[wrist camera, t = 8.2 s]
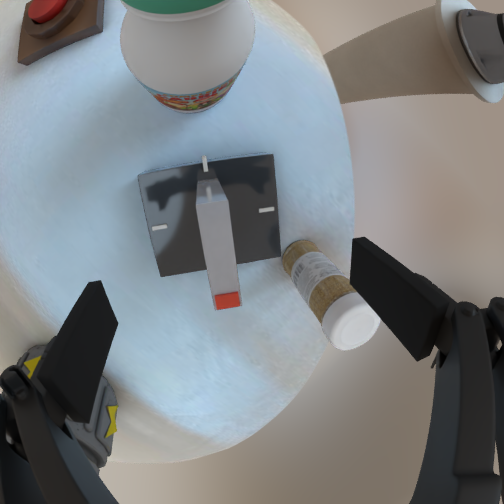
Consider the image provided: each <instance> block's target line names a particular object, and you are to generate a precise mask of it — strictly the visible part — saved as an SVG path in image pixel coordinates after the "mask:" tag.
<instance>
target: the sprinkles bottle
mask: <svg viewBox="0 0 504 504" xmlns="http://www.w3.org/2000/svg"><path fill="white" fill-rule="evenodd" d="M282 263H283V267H284V270H285V271H286V272H287V273H288V274H289V275H290V277H291V278H292V281H293V283H294V284H295V286H296V288H297V289H298V291H299V292H300V294H301V295H302V297H303V299H304V300H305V302H306V303H307V305H308V306H309V308H310V309H311V311H313V313H314V314H315V316H316V317H317V319H318V320H319V322H320V323H321V326H322V329H323V332H324V334H325V335H326V337H327V338H328V340H329V341H330V343H331V344H332V345H333V346H334V347H335V348H337V349H339V350H352V349H355V348H357V347H359V346H361V345H363V344H364V343H365V342H367V341H368V340H369V339H370V338H371V337H372V336H373V335H374V333H375V332H376V330H377V328H378V326H379V324H380V320H381V318H380V317H379V316H378V315H377V314H376V313H375V312H374V310H373V309H372V308H371V307H370V306H369V305H368V304H367V303H366V301H365V300H364V299H363V298H362V297H361V296H360V295H359V294H358V292H357V291H356V290H355V289H354V288H353V287H352V286H351V285H350V284H349V283H350V280H349V279H348V278H347V277H346V276H345V275H344V274H343V273H342V272H341V271H340V270H339V269H338V268H337V267H336V266H335V265H334V264H333V263H332V262H331V261H330V260H329V259H328V258H327V257H326V256H325V255H324V254H322V253H321V252H320V251H319V250H318V248H317V247H316V245H315V244H314V243H312V242H310V241H306V240H302V241H297V242H295V243H293V244H291V245H290V246H289V247H288V248H287V249H286V251H285V253H284V256H283V261H282Z"/></svg>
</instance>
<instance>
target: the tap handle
mask: <svg viewBox="0 0 504 504" xmlns="http://www.w3.org/2000/svg"><path fill="white" fill-rule="evenodd" d="M196 211H197V217H198V223H199V229H200V235H201V240H202V246H203V252H204V257H205V262H206V268H207V273H208V278H209V283H210V288H211V293H212V298H213V303H214V308H215V310H221V309H227V308H232V307H238V306H242V300H241V293H240V286H239V279H238V271H237V264H236V257H235V249H234V241H233V234H232V226H231V218H230V210H229V202H228V199H227V197H226V195H225V192H224V190H223V188H222V186H221V184H220V182H219V180H218V178H214V179H207V180H201V181H197V193H196Z"/></svg>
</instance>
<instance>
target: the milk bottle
mask: <svg viewBox="0 0 504 504" xmlns="http://www.w3.org/2000/svg"><path fill="white" fill-rule="evenodd" d="M121 3H122V4H123V6H124V7H125V8H126V9H127V12H126V14H125V17H124V20H123V23H122V27H121V34H120V44H121V50H122V54H123V57H124V60H125V62H126V64H127V66H128V68H129V69H130V71H131V72H132V74H133V75H134V76H135V77H136V79H137V80H138V81H139V82H140V83H141V84H142V85H143V86H144V87H145V88H146V89H147V90H148V91H149V92H150V93H151V94H152V95H153V96H154V97H155V98H156V99H157V100H158V101H159V102H160V103H162V104H163V105H164V106H166V107H167V108H169V109H171V110H174V111H177V112H181V113H196V112H201V111H204V110H207V109H209V108H211V107H213V106H214V105H216V104H217V103H218V102H220V101H221V100H222V99H223V98H224V97H225V95H226V94H227V93H228V91H229V90H230V88H231V87H232V85H233V83H234V82H235V80H236V78H237V77H238V75H239V73H240V71H241V70H242V68H243V66H244V65H245V63H246V60H247V58H248V56H249V54H250V52H251V49H252V47H253V42H254V37H255V19H254V14H253V11H252V8H251V6H250V3H249V2H248V0H121Z"/></svg>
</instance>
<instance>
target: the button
mask: <svg viewBox="0 0 504 504" xmlns="http://www.w3.org/2000/svg"><path fill="white" fill-rule="evenodd" d="M66 3H67V0H34V1H33V2H32V3H31V5H30V7H29V10H28V15H29V17H30V18H32V19H33V20H35V21H37V22H38V23H45V22H47V21H49V20H51V19H53V18H54V17H55V16H56V15H58V14H59V13H60V12H61V11H62V9H63V8H64V6H65V5H66Z"/></svg>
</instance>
